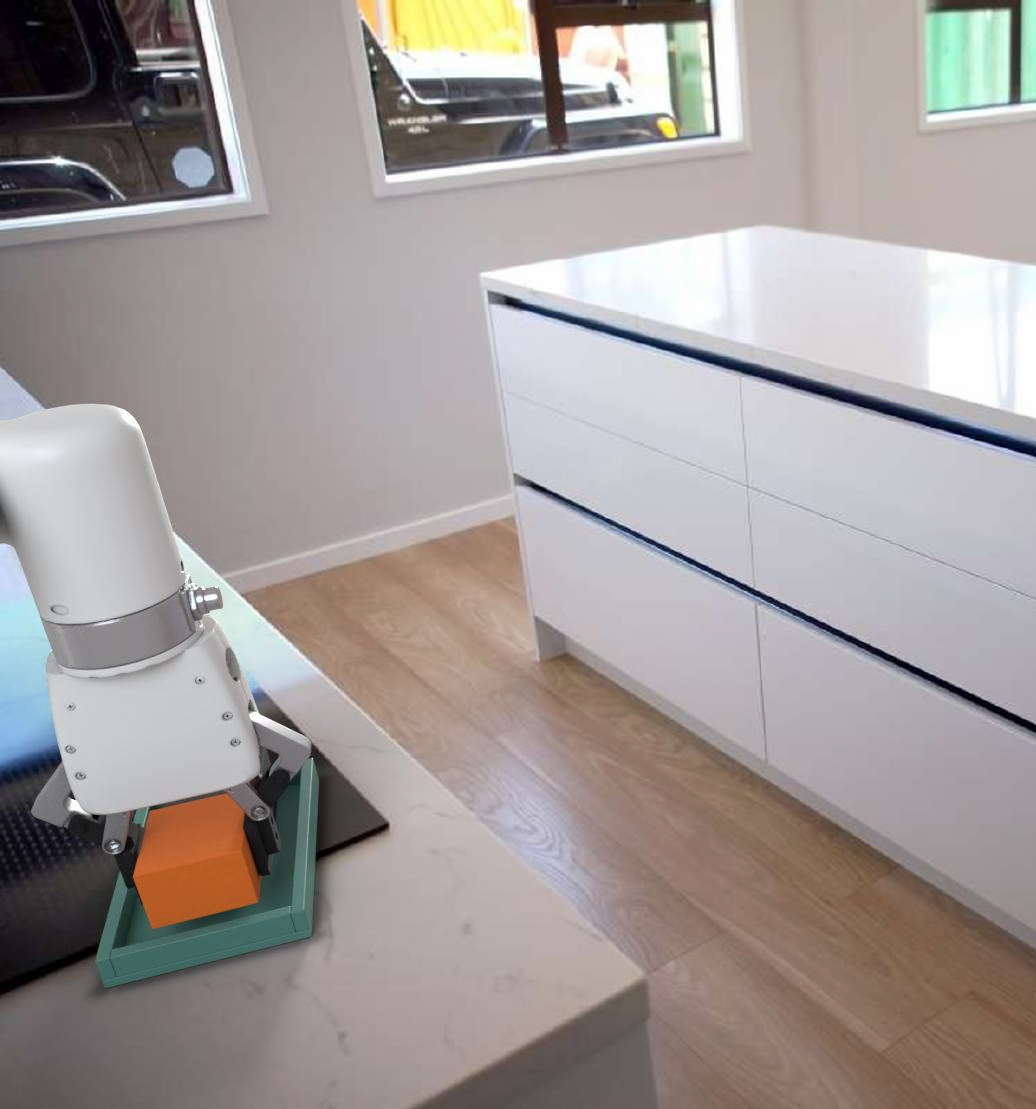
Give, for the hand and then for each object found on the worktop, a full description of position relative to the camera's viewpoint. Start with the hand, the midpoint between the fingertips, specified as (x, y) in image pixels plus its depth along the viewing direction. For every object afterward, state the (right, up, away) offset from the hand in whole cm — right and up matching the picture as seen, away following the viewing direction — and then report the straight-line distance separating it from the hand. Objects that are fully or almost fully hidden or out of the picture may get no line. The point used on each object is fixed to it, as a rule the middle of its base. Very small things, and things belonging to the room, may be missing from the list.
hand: (209, 874), depth 79 cm
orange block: (0, 0, 0) cm, 1 cm away
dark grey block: (-3, +1, +9) cm, 9 cm away
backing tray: (-1, -1, +5) cm, 5 cm away
